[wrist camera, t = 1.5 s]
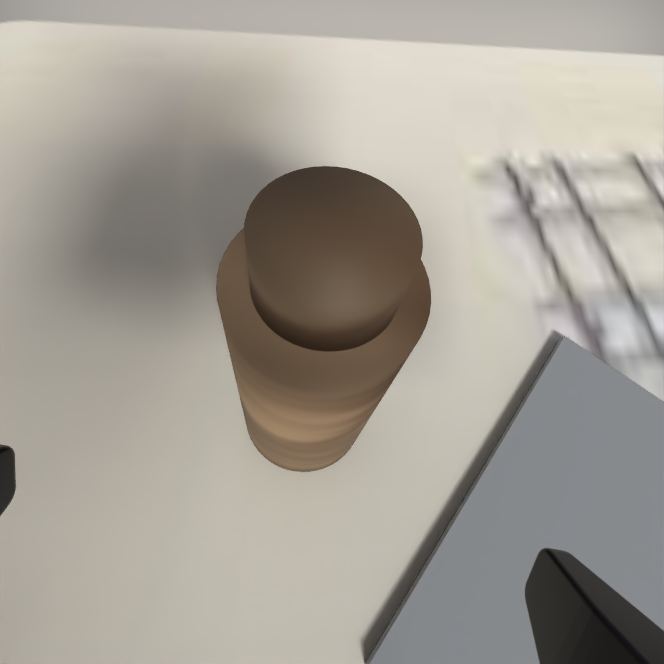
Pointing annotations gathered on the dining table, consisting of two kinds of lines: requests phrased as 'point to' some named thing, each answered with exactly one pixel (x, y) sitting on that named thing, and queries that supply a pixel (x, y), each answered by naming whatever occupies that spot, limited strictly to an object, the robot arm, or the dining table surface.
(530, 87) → the dining table surface
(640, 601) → the slate tile
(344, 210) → the pepper mill
